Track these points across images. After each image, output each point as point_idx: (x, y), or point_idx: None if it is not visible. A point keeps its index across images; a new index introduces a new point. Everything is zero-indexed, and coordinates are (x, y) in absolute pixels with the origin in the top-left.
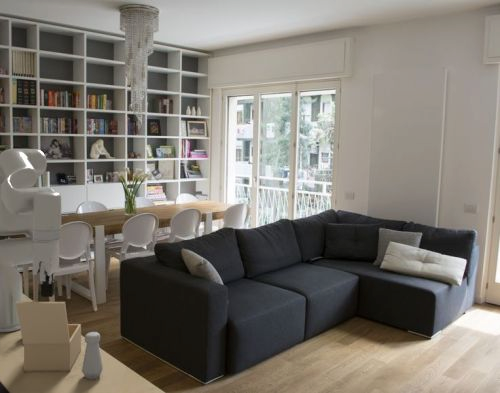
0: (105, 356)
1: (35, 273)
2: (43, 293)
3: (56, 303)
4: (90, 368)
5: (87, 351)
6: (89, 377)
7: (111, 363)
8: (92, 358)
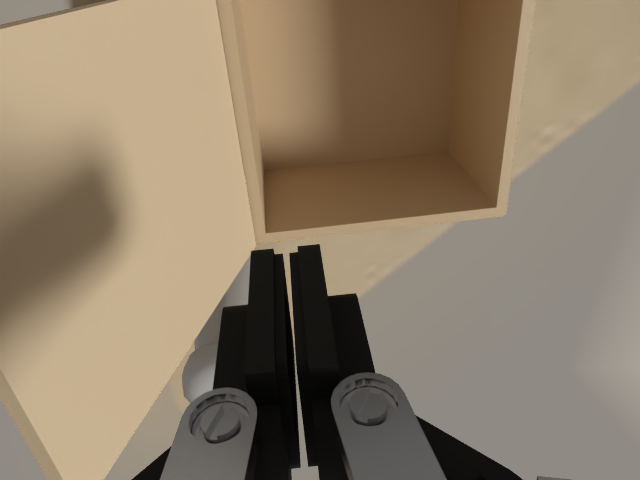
0: (394, 260)
1: None
2: (223, 310)
3: (40, 462)
4: None
5: None
6: None
7: (335, 293)
8: None
